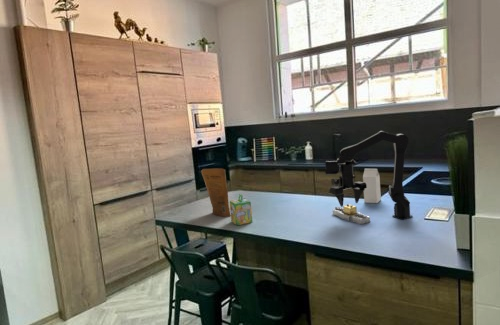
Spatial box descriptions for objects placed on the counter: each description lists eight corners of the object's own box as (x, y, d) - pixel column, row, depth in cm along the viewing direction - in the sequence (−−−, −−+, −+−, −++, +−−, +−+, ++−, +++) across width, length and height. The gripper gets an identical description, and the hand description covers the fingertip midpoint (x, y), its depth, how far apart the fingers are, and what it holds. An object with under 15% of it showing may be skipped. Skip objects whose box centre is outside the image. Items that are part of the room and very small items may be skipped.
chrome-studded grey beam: (372, 221, 158) (372, 214, 158) (360, 225, 156) (359, 218, 155) (342, 211, 179) (341, 205, 178) (330, 214, 176) (330, 208, 175)
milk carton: (377, 203, 187) (375, 169, 184) (364, 202, 191) (362, 169, 189) (380, 200, 192) (379, 167, 190) (368, 199, 197) (366, 167, 194)
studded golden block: (357, 218, 166) (356, 205, 165) (350, 220, 164) (349, 206, 163) (350, 216, 170) (349, 203, 169) (344, 217, 169) (343, 204, 168)
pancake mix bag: (226, 218, 188) (220, 169, 184) (205, 214, 202) (199, 168, 198) (235, 215, 193) (229, 167, 189) (214, 211, 206) (208, 166, 203)
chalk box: (231, 221, 182) (228, 194, 180) (247, 218, 185) (244, 192, 183) (236, 226, 173) (233, 198, 171) (253, 222, 176) (250, 195, 174)
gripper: (351, 169, 175) (353, 198, 177) (321, 174, 168) (323, 205, 170) (366, 171, 165) (368, 202, 167) (335, 177, 158) (337, 209, 160)
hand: (349, 204), depth 166 cm, fingers open, 9 cm apart
